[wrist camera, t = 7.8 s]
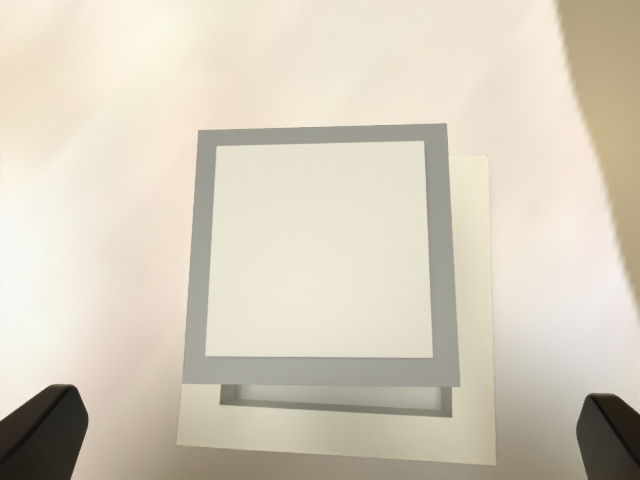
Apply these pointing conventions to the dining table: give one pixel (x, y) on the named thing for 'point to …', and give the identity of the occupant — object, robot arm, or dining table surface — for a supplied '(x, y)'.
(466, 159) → the tray
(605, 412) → the robot arm
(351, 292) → the grey tall block
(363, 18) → the dining table surface
